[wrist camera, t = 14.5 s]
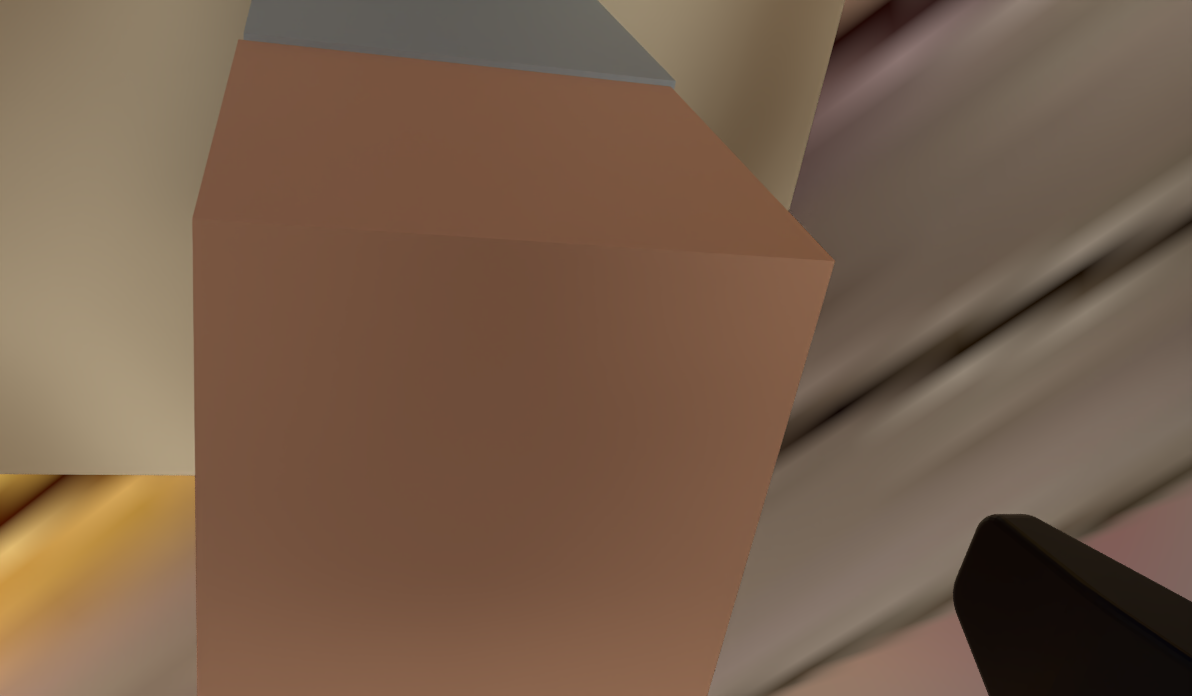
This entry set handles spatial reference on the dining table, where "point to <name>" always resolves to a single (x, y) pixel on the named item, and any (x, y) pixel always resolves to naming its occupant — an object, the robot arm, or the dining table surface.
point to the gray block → (466, 34)
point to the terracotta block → (480, 380)
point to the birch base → (173, 179)
